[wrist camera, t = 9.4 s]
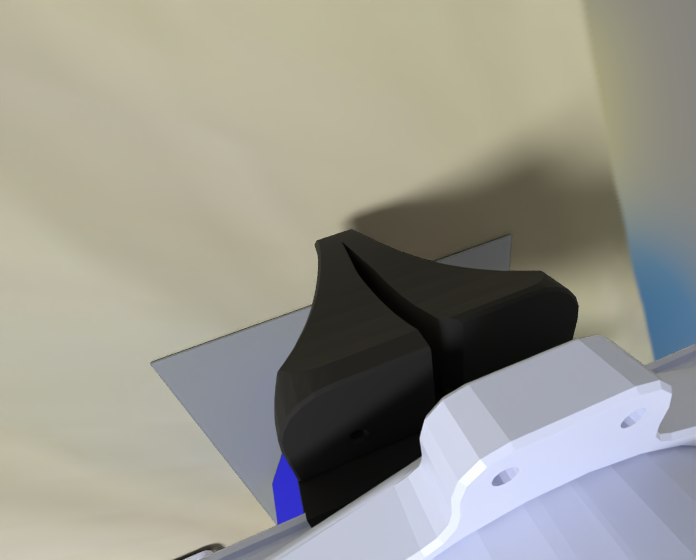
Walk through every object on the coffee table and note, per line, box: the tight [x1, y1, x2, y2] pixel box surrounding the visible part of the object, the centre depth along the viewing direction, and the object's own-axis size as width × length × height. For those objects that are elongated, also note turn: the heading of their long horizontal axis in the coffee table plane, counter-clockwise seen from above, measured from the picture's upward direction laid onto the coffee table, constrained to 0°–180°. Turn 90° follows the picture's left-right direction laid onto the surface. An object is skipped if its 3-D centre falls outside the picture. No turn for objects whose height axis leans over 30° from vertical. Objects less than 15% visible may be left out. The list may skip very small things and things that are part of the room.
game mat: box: [150, 234, 512, 525], centre depth 24 cm, size 28×16×1 cm, turn 12°
